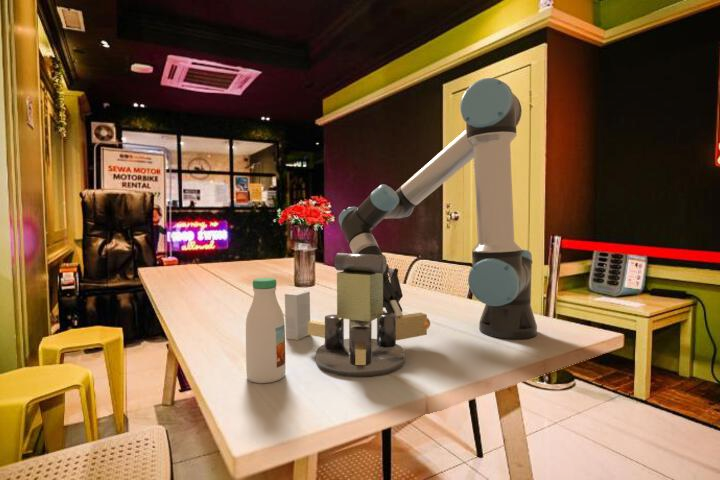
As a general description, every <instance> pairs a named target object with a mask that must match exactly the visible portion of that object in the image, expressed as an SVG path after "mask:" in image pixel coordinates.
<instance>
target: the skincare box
mask: <svg viewBox="0 0 720 480" xmlns="http://www.w3.org/2000/svg"><path fill="white" fill-rule="evenodd" d="M310 295H311V293H310V291H308V290H298V289H296V290H294V291H290V292H288V293H285V294H284V325H285V339H287V340H293V339H294V340H295V341H299V340H302V339H304V338H305V337H307V336H309V335H308V322H310V321H311V296H310Z"/></svg>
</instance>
